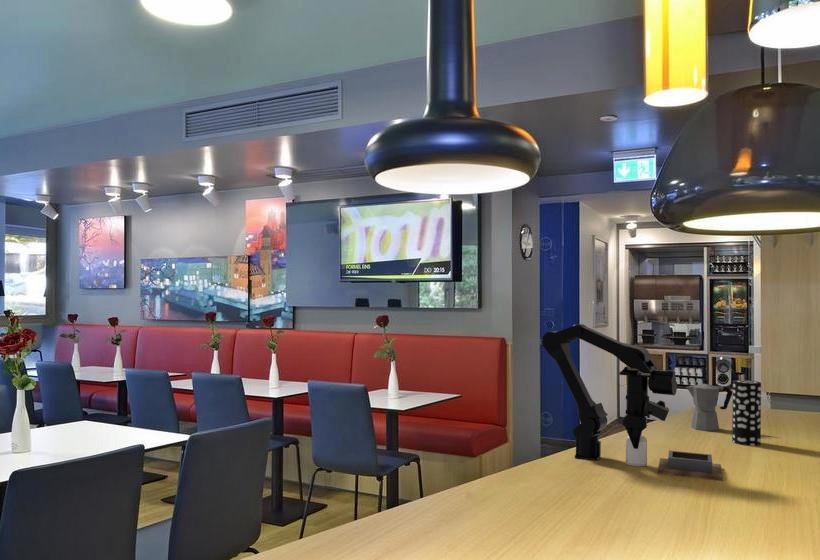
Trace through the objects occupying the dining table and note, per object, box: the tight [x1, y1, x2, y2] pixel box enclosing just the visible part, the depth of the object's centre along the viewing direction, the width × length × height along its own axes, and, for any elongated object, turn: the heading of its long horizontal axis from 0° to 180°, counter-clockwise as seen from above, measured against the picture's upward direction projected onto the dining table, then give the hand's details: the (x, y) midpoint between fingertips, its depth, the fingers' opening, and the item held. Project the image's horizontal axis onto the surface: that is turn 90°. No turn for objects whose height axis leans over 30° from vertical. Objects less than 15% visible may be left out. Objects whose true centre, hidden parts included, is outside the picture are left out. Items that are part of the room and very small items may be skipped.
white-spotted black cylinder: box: [731, 379, 762, 447], centre depth 221 cm, size 8×8×20 cm
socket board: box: [657, 457, 724, 482], centre depth 185 cm, size 16×14×1 cm
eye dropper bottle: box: [625, 435, 648, 467], centre depth 191 cm, size 4×6×12 cm
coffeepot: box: [685, 378, 733, 432], centre depth 243 cm, size 15×9×18 cm, turn 70°
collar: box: [667, 450, 713, 473], centre depth 185 cm, size 11×9×3 cm
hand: (636, 447), depth 191 cm, fingers open, 4 cm apart
